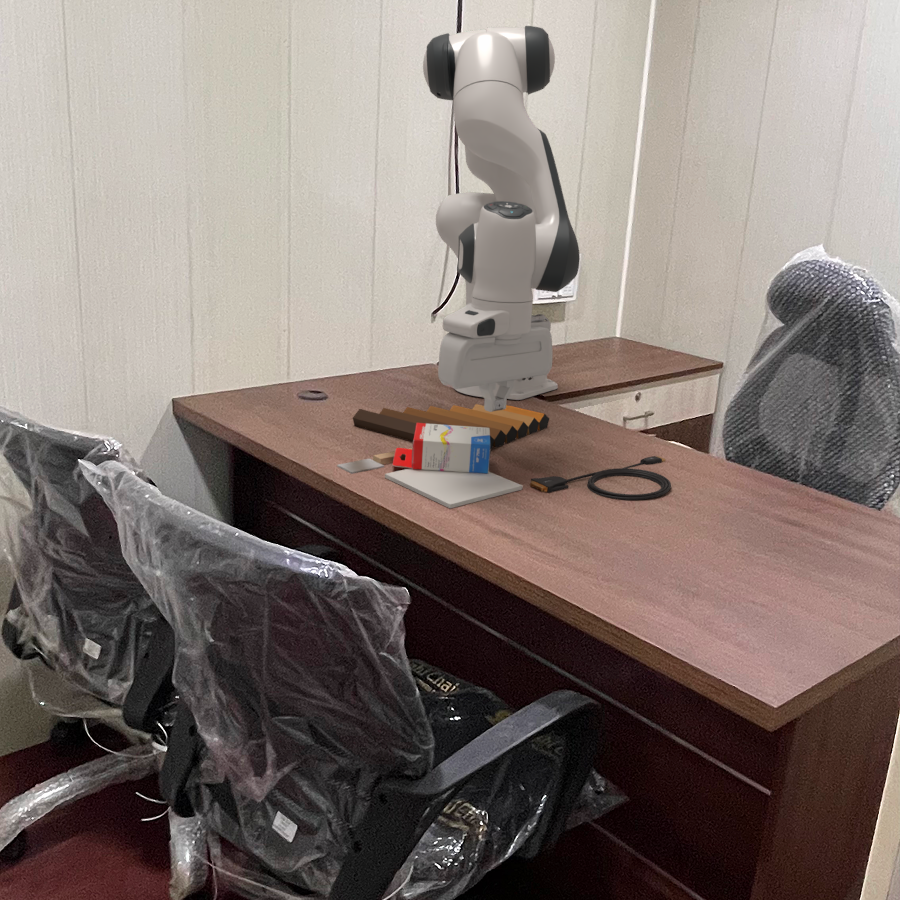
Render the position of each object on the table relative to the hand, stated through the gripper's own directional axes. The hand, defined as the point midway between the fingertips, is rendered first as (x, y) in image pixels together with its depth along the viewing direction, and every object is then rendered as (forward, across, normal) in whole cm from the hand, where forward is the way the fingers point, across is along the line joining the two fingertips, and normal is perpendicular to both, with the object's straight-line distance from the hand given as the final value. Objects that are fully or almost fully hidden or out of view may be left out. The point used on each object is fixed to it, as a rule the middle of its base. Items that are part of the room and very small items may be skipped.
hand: (494, 409), depth 143 cm
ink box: (+7, -2, -2) cm, 8 cm away
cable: (+11, -15, +14) cm, 23 cm away
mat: (+10, +7, 0) cm, 13 cm away
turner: (+10, +10, -14) cm, 20 cm away
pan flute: (+11, -12, -23) cm, 28 cm away
